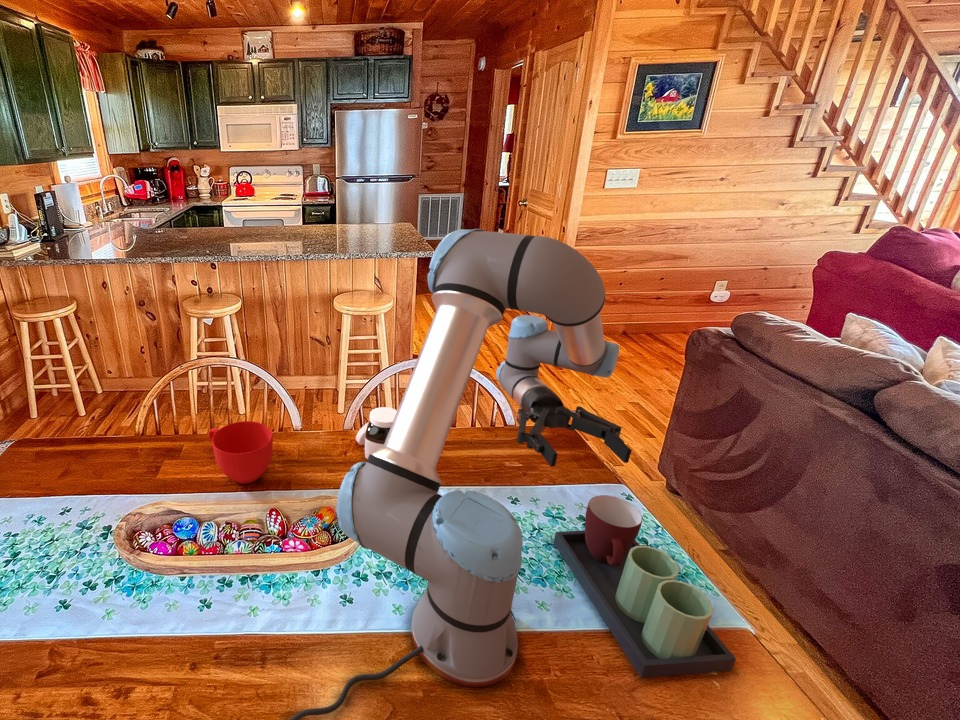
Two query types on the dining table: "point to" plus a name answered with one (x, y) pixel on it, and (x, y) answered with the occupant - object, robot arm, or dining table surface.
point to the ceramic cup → (242, 450)
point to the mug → (611, 528)
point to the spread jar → (376, 429)
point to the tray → (601, 591)
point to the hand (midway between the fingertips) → (591, 458)
